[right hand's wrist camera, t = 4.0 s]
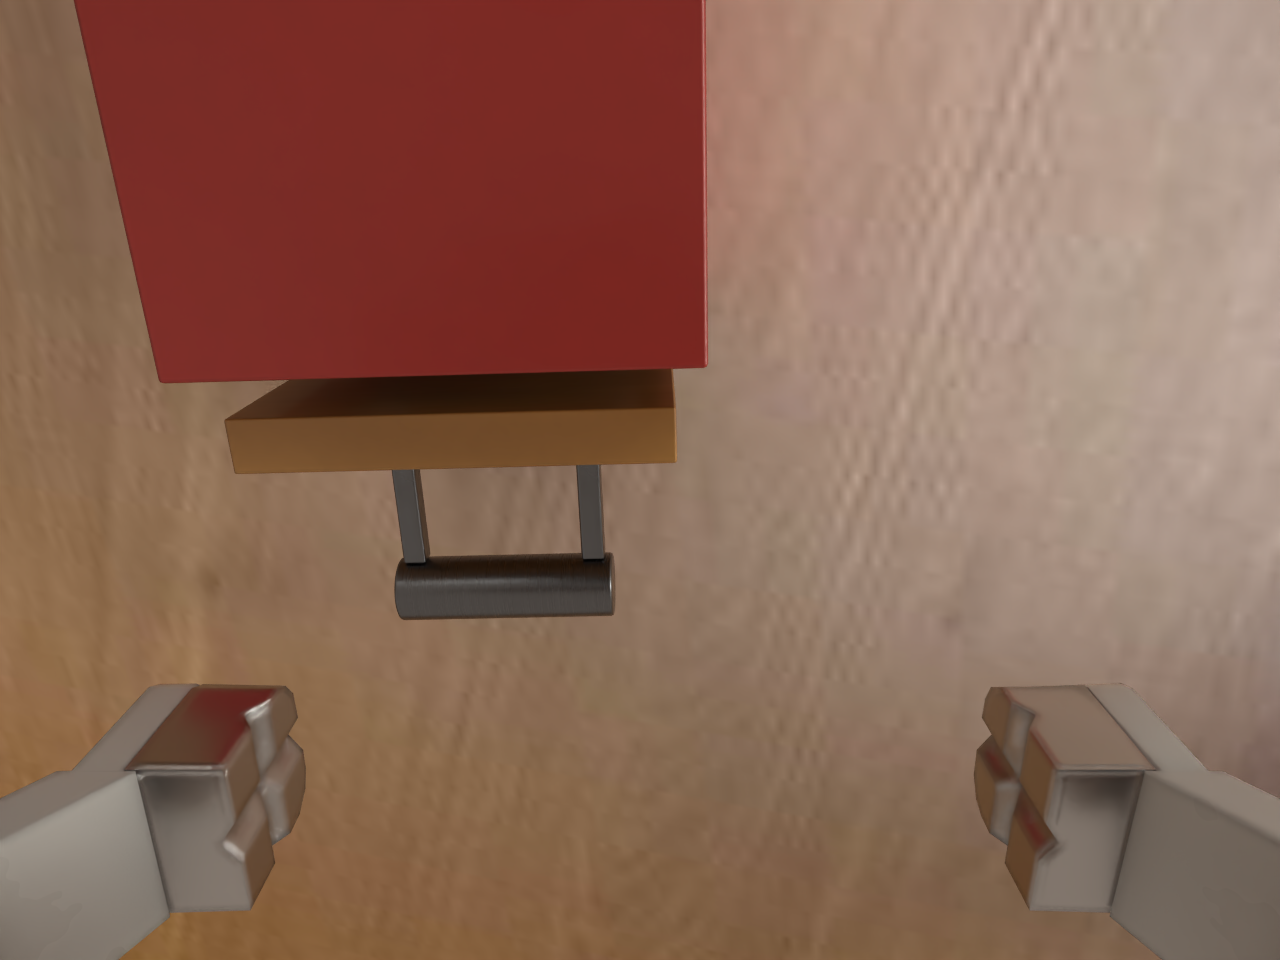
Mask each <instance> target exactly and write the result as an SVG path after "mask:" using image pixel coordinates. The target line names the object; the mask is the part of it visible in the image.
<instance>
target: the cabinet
mask: <svg viewBox="0 0 1280 960" xmlns="http://www.w3.org/2000/svg"><path fill="white" fill-rule="evenodd" d="M74 3H75V8H76V12H77V17H78V21H79V26H80V30H81V35H82V39H83V44H84V48H85V52H86V57H87V61H88V66H89V70H90V75H91V79H92V84H93V88H94V93H95V97H96V102H97V106H98V110H99V115H100V119H101V124H102V128H103V133H104V137H105V142H106V146H107V151H108V155H109V160H110V164H111V168H112V173H113V177H114V182H115V186H116V191H117V195H118V200H119V204H120V209H121V213H122V217H123V222H124V226H125V231H126V235H127V240H128V244H129V249H130V253H131V258H132V262H133V267H134V271H135V275H136V280H137V284H138V289H139V293H140V298H141V302H142V307H143V311H144V316H145V320H146V325H147V329H148V333H149V338H150V342H151V347H152V351H153V356H154V360H155V365H156V369H157V374H158V378H159V381H160V382H162V383H192V382H227V381H263V380H298V379H333V378H368V377H403V376H438V375H474V374H509V373H544V372H579V371H614V370H649V369H685V368H704V367H707V364H708V303H707V151H706V0H74Z"/></svg>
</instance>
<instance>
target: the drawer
mask: <svg viewBox="0 0 1280 960" xmlns="http://www.w3.org/2000/svg"><path fill="white" fill-rule="evenodd" d="M225 427H226V432H227V437H228V442H229V447H230V451H231V456H232V461H233V466H234V471H235V473H236V474H254V473H293V472H332V471H371V470H392V476H393V483H394V491H395V498H396V505H397V512H398V520H399V527H400V534H401V542H402V549H403V556H404V558H402V559H401V560H400V562H399V564H398V567H397V571H396V576H395V603H396V608H397V612H398V614H399V616H400V618H401V619H403V620H431V619H479V618H527V617H574V616H612V615H614V612H615V566H614V556H613V553H611V552H609V553H605V537H604V518H603V498H602V478H601V465H606V464H645V463H675V462H676V461H677V435H676V403H675V390H674V378H673V369H649V370H614V371H579V372H544V373H509V374H474V375H438V376H403V377H368V378H333V379H298V380H288V381H287V382H285V383H284V384H282V385H280V386H279V387H277V388H275V389H274V390H272V391H271V392H269V393H267V394H266V395H264V396H263V397H261V398H259V399H258V400H256V401H254V402H253V403H251V404H250V405H248V406H246V407H245V408H243V409H241V410H240V411H238V412H237V413H235V414H233V415H232V416H230V417H228V418H227V419H225ZM567 465H576V470H577V486H578V502H579V519H580V535H581V552H582V553H566V554H522V555H478V556H435V557H429V556H430V548H429V540H428V532H427V524H426V516H425V508H424V500H423V492H422V484H421V476H420V469H449V468H489V467H528V466H567Z"/></svg>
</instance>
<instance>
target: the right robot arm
mask: <svg viewBox="0 0 1280 960" xmlns="http://www.w3.org/2000/svg"><path fill="white" fill-rule="evenodd" d="M297 718H298V715H297V710H296V705H295V700H294V695H293V693H292V692H291V691H290V690H289V689H288V688H287V687H286V686H269V685H221V684H202V685H199V684H159V685H155V686H151V687H149V688H148V689H147V690H146V691H145V692H144V693H143V694H142V695H141V696H140V697H139V698H138V699H137V701H136V702H135V703H134V704H133V705H132V706H131V707H130V708H129V709H128V710H127V711H126V712H125V714H124V715H123V716H122V717H121V718H120V719H119V720H118V721H117V722H116V723H115V724H114V725H113V727H112V728H111V729H110V730H109V731H108V732H107V733H106V734H105V735H104V736H103V737H102V738H101V740H100V741H99V742H98V743H97V744H96V745H95V746H94V747H93V748H92V749H91V750H90V751H89V752H88V754H87V755H86V756H85V757H84V758H83V759H82V760H81V761H80V762H79V763H78V764H77V765H76V767H75V768H74V769H73V770H72V771H56V772H54V773H52V774H50V775H48V776H46V777H44V778H42V779H40V780H38V781H36V782H33V783H31V784H29V785H27V786H25V787H23V788H21V789H19V790H17V791H15V792H13V793H11V794H9V795H6V796H4V797H2V798H0V960H118V959H119V958H121V957H122V956H123V955H124V954H125V953H127V952H128V951H129V950H130V949H131V948H133V947H134V946H135V945H136V944H138V943H139V942H140V941H141V940H142V939H144V938H145V937H146V936H147V935H149V934H150V933H151V932H152V931H153V930H155V929H156V928H157V927H158V926H159V925H161V924H162V923H163V922H164V921H166V920H167V919H168V918H169V917H170V914H169V913H174V912H209V911H243V910H251V908H252V906H253V905H254V903H255V901H256V899H257V897H258V895H259V893H260V891H261V889H262V887H263V885H264V883H265V881H266V880H267V878H268V876H269V874H270V872H271V870H272V868H273V866H274V864H275V859H274V853H273V848H272V845H274V844H275V843H277V842H278V841H280V840H281V839H282V838H284V837H285V836H287V835H288V834H290V833H291V831H292V829H293V827H294V825H295V822H296V820H297V818H298V816H299V814H300V810H301V806H302V801H303V797H304V792H305V781H306V766H305V760H304V753H303V749H302V748H301V747H300V746H299V745H298V744H297V743H296V742H295V741H294V740H293V739H292V738H291V737H290V736H289V735H288V734H289V732H290V730H291V729H292V727H293V725H294V724H295V722H296V720H297ZM982 718H983V720H984V722H985V724H986V725H987V727H988V729H989V730H990V732H991V734H992V735H991V736H990V737H989V738H988V739H987V740H986V741H985V742H984V743H983V744H982V745H981V746H980V747H979V748H978V749H977V753H976V761H975V770H974V781H975V792H976V800H977V803H978V806H979V810H980V813H981V816H982V819H983V821H984V823H985V825H986V827H987V829H988V831H989V833H990V834H992V835H993V836H995V837H996V838H998V839H999V840H1000V841H1002V842H1003V843H1005V844H1006V845H1008V847H1007V853H1006V859H1005V864H1006V866H1007V868H1008V870H1009V872H1010V874H1011V876H1012V878H1013V879H1014V881H1015V883H1016V885H1017V887H1018V889H1019V891H1020V893H1021V895H1022V897H1023V899H1024V901H1025V902H1026V904H1027V906H1028V908H1029V910H1034V911H1070V912H1105V913H1110V917H1111V918H1112V919H1114V920H1115V921H1116V922H1117V923H1118V924H1120V925H1121V926H1122V927H1123V928H1125V929H1126V930H1127V931H1128V932H1129V933H1131V934H1132V935H1133V936H1134V937H1135V938H1137V939H1138V940H1139V941H1140V942H1142V943H1143V944H1144V945H1145V946H1146V947H1148V948H1149V949H1150V950H1151V951H1152V952H1154V953H1155V954H1156V955H1157V956H1159V957H1160V958H1161V959H1162V960H1280V798H1278V797H1275V796H1273V795H1271V794H1269V793H1267V792H1265V791H1263V790H1261V789H1259V788H1257V787H1255V786H1253V785H1251V784H1249V783H1246V782H1244V781H1242V780H1240V779H1238V778H1236V777H1234V776H1232V775H1230V774H1228V773H1226V772H1224V771H1208V770H1207V769H1206V768H1205V767H1204V766H1203V764H1202V763H1201V762H1200V761H1199V760H1198V759H1197V758H1196V757H1195V756H1194V755H1193V754H1192V753H1191V751H1190V750H1189V749H1188V748H1187V747H1186V746H1185V745H1184V744H1183V743H1182V742H1181V741H1180V739H1179V738H1178V737H1177V736H1176V735H1175V734H1174V733H1173V732H1172V731H1171V730H1170V729H1169V728H1168V726H1167V725H1166V724H1165V723H1164V722H1163V721H1162V720H1161V719H1160V718H1159V717H1158V716H1157V715H1156V713H1155V712H1154V711H1153V710H1152V709H1151V708H1150V707H1149V706H1148V705H1147V704H1146V703H1145V702H1144V700H1143V699H1142V698H1141V697H1140V696H1139V695H1138V694H1137V693H1136V692H1135V691H1134V690H1133V689H1132V688H1131V687H1128V686H1126V685H1124V684H1121V683H1115V684H1086V685H1072V686H1024V687H991V688H990V690H989V692H988V694H987V696H986V699H985V703H984V709H983V715H982Z"/></svg>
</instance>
